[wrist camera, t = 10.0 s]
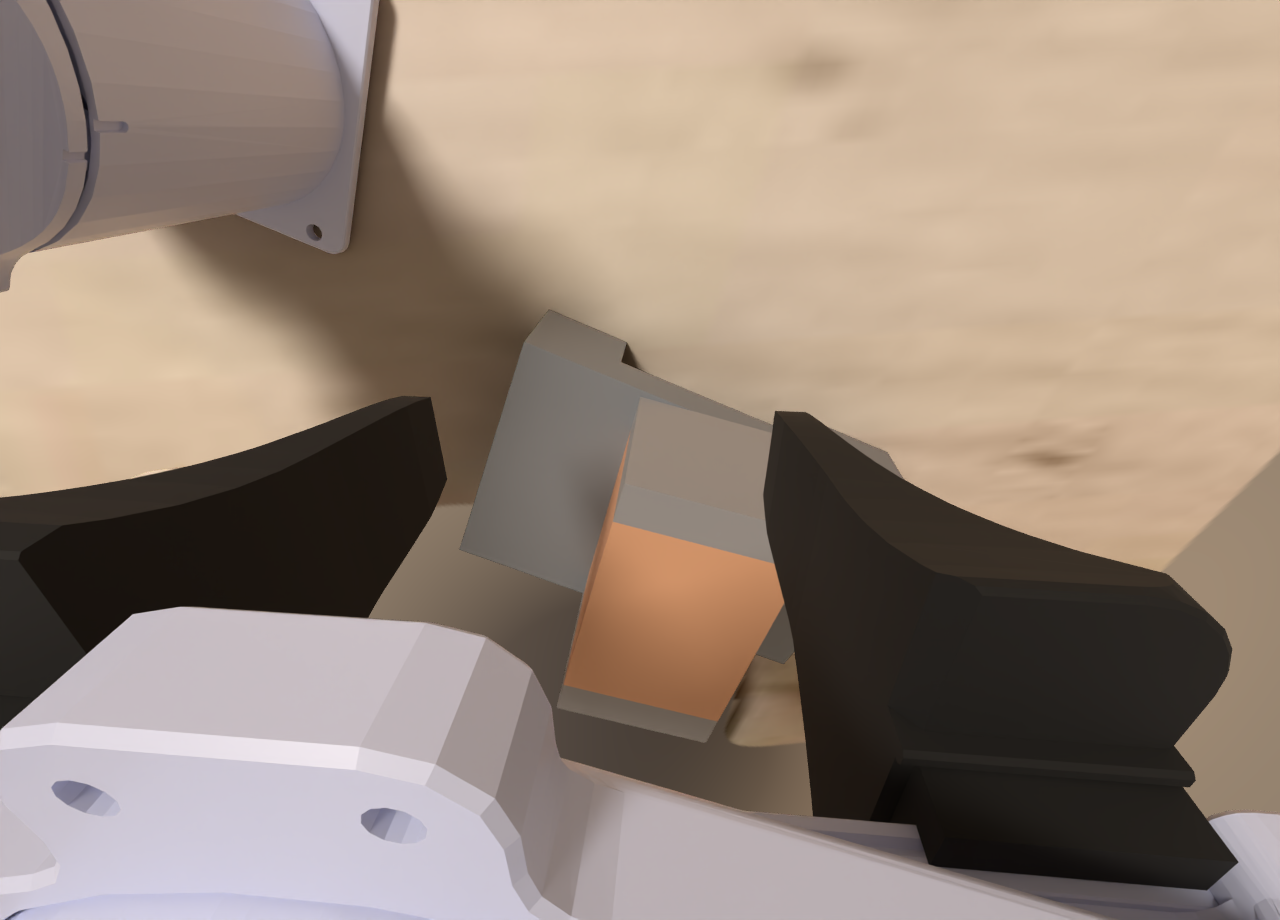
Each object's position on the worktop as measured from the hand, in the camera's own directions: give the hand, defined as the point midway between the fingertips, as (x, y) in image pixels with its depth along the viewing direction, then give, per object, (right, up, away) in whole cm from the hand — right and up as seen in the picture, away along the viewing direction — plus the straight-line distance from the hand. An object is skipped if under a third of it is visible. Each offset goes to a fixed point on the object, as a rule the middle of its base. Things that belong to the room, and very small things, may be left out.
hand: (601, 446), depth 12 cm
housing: (+2, -3, +8) cm, 9 cm away
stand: (+2, -1, +11) cm, 12 cm away
